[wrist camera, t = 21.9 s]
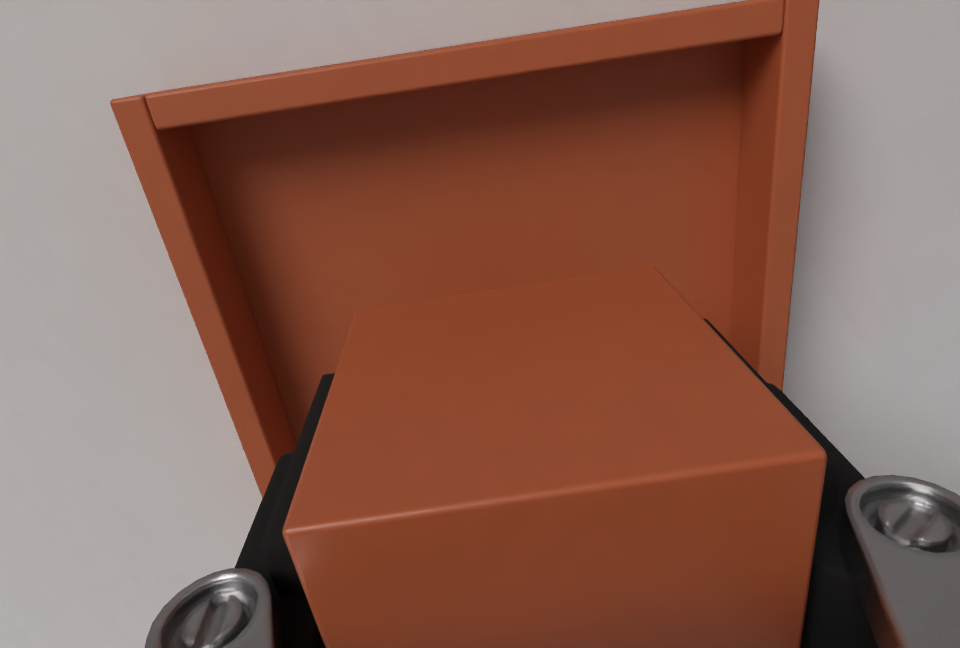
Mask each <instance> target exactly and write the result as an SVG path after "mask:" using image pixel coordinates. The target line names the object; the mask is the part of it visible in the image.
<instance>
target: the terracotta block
mask: <svg viewBox="0 0 960 648" xmlns="http://www.w3.org/2000/svg"><path fill="white" fill-rule="evenodd" d="M826 464H827V455H826V452H825V450H824V448H823V447H822V446H821V445H820V444H819V443H818V442H817V441H816V440H815V439H814V438H813V437H812V435H811V434H810V433H809V432H808V431H807V430H806V429H805V428H804V427H803V426H802V425H801V424H800V423H799V421H798V420H797V419H796V418H795V417H794V416H793V415H792V414H791V413H790V412H789V411H788V410H787V409H786V407H785V406H784V405H783V404H782V403H781V402H780V401H779V400H778V399H777V398H776V397H775V396H774V395H773V393H772V392H771V391H770V390H769V389H768V388H767V387H766V386H765V385H764V384H763V383H762V382H761V381H760V380H759V378H758V377H757V376H756V375H755V374H754V373H753V372H752V371H751V370H750V369H749V368H748V367H747V366H746V364H745V363H744V362H743V361H742V360H741V359H740V358H739V357H738V356H737V355H736V354H735V353H734V352H733V350H732V349H731V348H730V347H729V346H728V345H727V344H726V343H725V342H724V341H723V340H722V339H721V338H720V336H719V335H718V334H717V333H716V332H715V331H714V330H713V329H712V328H711V327H710V326H709V325H708V324H707V322H706V321H705V320H704V319H703V318H702V317H701V316H700V315H699V314H698V313H697V312H696V311H695V310H694V308H693V307H692V306H691V305H690V304H689V303H688V302H687V301H686V300H685V299H684V298H683V297H682V296H681V294H680V293H679V292H678V291H677V290H676V289H675V288H674V287H673V286H672V285H671V284H670V283H669V282H668V280H667V279H666V278H665V277H664V276H663V275H662V274H661V273H660V272H659V271H658V270H657V269H656V268H655V267H654V266H646V267H640V268H633V269H626V270H619V271H613V272H606V273H599V274H593V275H586V276H579V277H573V278H566V279H559V280H552V281H546V282H539V283H532V284H526V285H519V286H512V287H506V288H499V289H492V290H485V291H479V292H472V293H465V294H459V295H452V296H445V297H439V298H432V299H425V300H418V301H412V302H405V303H398V304H392V305H385V306H378V307H372V308H365V309H359V310H357V311H356V313H355V316H354V319H353V322H352V325H351V327H350V330H349V333H348V336H347V339H346V342H345V345H344V348H343V351H342V354H341V357H340V360H339V363H338V366H337V369H336V372H335V375H334V378H333V381H332V384H331V387H330V390H329V393H328V396H327V399H326V402H325V405H324V408H323V411H322V414H321V417H320V420H319V423H318V426H317V429H316V432H315V435H314V437H313V440H312V443H311V446H310V449H309V452H308V455H307V458H306V461H305V464H304V467H303V470H302V473H301V476H300V479H299V482H298V485H297V488H296V491H295V494H294V497H293V500H292V503H291V506H290V509H289V512H288V515H287V518H286V521H285V524H284V527H283V532H282V533H283V537H284V539H285V542H286V545H287V547H288V550H289V553H290V555H291V558H292V561H293V563H294V566H295V568H296V571H297V574H298V576H299V579H300V582H301V584H302V587H303V589H304V592H305V595H306V597H307V600H308V603H309V605H310V608H311V611H312V613H313V616H314V618H315V621H316V624H317V626H318V629H319V632H320V634H321V637H322V639H323V642H324V645H325V647H326V648H800V647H801V640H802V633H803V626H804V619H805V612H806V605H807V597H808V590H809V583H810V576H811V569H812V562H813V555H814V548H815V541H816V534H817V527H818V520H819V513H820V506H821V499H822V492H823V485H824V478H825V471H826Z"/></svg>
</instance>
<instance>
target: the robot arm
mask: <svg viewBox="0 0 960 648" xmlns="http://www.w3.org/2000/svg"><path fill="white" fill-rule="evenodd" d="M704 320H705V321H706V322H707V324H708V325H709V326H710V327H711V328H712V329H713V330H714V331H715V332H716V333H717V334H718V335H719V336H720V338H721V339H722V340H723V341H724V342H725V343H726V344H727V345H728V346H729V347H730V348H731V349H732V350H733V352H734V353H735V354H736V355H737V356H738V357H739V358H740V359H741V360H742V361H743V362H744V363H745V364H746V366H747V367H748V368H749V369H750V370H751V371H752V372H753V373H754V374H755V375H756V376H757V377H758V378H759V380H760V381H761V382H762V383H763V384H764V385H765V386H766V387H767V388H768V389H769V390H770V391H771V392H772V393H773V395H774V396H775V397H776V398H777V399H778V400H779V401H780V402H781V403H782V404H783V405H784V406H785V407H786V409H787V410H788V411H789V412H790V413H791V414H792V415H793V416H794V417H795V418H796V419H797V420H798V421H799V423H800V424H801V425H802V426H803V427H804V428H805V429H806V430H807V431H808V432H809V433H810V434H811V435H812V437H813V438H814V439H815V440H816V441H817V442H818V443H819V444H820V445H821V446H822V447H823V448H824V450H825V452H826V455H827V464H826V471H825V478H824V485H823V492H822V499H821V506H820V513H819V520H818V527H817V534H816V541H815V548H814V555H813V562H812V569H811V576H810V583H809V590H808V597H807V605H806V612H805V619H804V626H803V633H802V640H801V647H800V648H960V496H959V495H958V494H956V493H954V492H952V491H949V490H947V489H945V488H943V487H941V486H939V485H936V484H934V483H930V482H927V481H923V480H920V479H916V478H911V477H904V476H896V475H886V476H873V477H870V478H866V479H865V478H864V477H863V476H862V475H861V474H860V473H859V472H858V471H857V470H856V468H855V467H854V466H853V465H852V464H851V463H850V462H849V461H848V460H847V459H846V458H845V457H844V456H843V455H842V454H841V453H840V452H839V451H838V450H837V449H836V448H835V447H834V446H833V444H832V443H831V442H830V441H829V440H828V439H827V438H826V437H825V436H824V435H823V434H822V433H821V432H820V431H819V430H818V429H817V428H816V427H815V426H814V425H813V424H812V423H811V422H810V420H809V419H808V418H807V417H806V416H805V415H804V414H803V413H802V412H801V411H800V410H799V409H798V408H797V407H796V406H795V405H794V404H793V403H792V402H791V401H790V400H789V399H788V398H787V396H786V395H785V394H784V393H783V392H782V391H781V390H780V389H779V388H777V387H776V386H775V385H774V384H770V383H767V382H766V381H765V380H764V379H763V378H762V377H761V376H760V375H759V374H758V373H757V372H756V371H755V369H754V368H753V367H752V366H751V365H750V364H749V363H748V362H747V361H746V360H745V359H744V358H743V357H742V356H741V355H740V354H739V352H738V351H737V350H736V349H735V348H734V347H733V346H732V345H731V344H730V343H729V342H728V341H727V340H726V339H725V338H724V336H723V335H722V334H721V333H720V332H719V331H718V330H717V329H716V328H715V327H714V326H713V325H712V324H711V323H710V322H709V321H708V320H707V319H706V318H704ZM334 375H335V373H331V374H325V375H323V376H322V378H321V380H320V383H319V386H318V388H317V391H316V394H315V396H314V399H313V402H312V404H311V407H310V410H309V413H308V415H307V418H306V421H305V423H304V426H303V429H302V431H301V434H300V437H299V439H298V442H297V445H296V447H295V450H294V452H292V453H285V454H283V455H281V457H280V458H279V460H278V462H277V464H276V467H275V469H274V472H273V474H272V477H271V479H270V482H269V484H268V487H267V489H266V492H265V494H264V496H263V499H262V501H261V504H260V506H259V509H258V511H257V514H256V516H255V519H254V521H253V524H252V526H251V529H250V531H249V534H248V536H247V539H246V541H245V544H244V546H243V549H242V551H241V554H240V556H239V559H238V561H237V564H236V566H235V568H230V569H226V570H222V571H218V572H214V573H212V574H209V575H207V576H205V577H203V578H201V579H198V580H196V581H195V582H193V583H192V584H190V585H189V586H187V587H186V588H184V589H183V590H181V591H180V592H178V593H177V594H176V595H175V596H174V597H173V598H172V599H171V600H170V601H169V602H168V603H167V604H166V605H165V606H164V607H163V608H162V610H161V611H160V613H159V614H158V616H157V617H156V619H155V620H154V621H153V623H152V626H151V628H150V631H149V634H148V637H147V639H146V645H145V648H326V647H325V645H324V642H323V639H322V637H321V634H320V632H319V629H318V626H317V624H316V621H315V618H314V616H313V613H312V611H311V608H310V605H309V603H308V600H307V597H306V595H305V592H304V589H303V587H302V584H301V582H300V579H299V576H298V574H297V571H296V568H295V566H294V563H293V561H292V558H291V555H290V553H289V550H288V547H287V545H286V542H285V539H284V537H283V533H282V532H283V527H284V524H285V521H286V518H287V515H288V512H289V509H290V506H291V503H292V500H293V497H294V494H295V491H296V488H297V485H298V482H299V479H300V476H301V473H302V470H303V467H304V464H305V461H306V458H307V455H308V452H309V449H310V446H311V443H312V440H313V437H314V435H315V432H316V429H317V426H318V423H319V420H320V417H321V414H322V411H323V408H324V405H325V402H326V399H327V396H328V393H329V390H330V387H331V384H332V381H333V378H334Z"/></svg>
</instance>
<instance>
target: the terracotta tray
mask: <svg viewBox="0 0 960 648" xmlns="http://www.w3.org/2000/svg"><path fill="white" fill-rule="evenodd" d="M818 9H819V0H746V1H740V2H733V3H727V4H720V5H714V6H707V7H701V8H694V9H688V10H682V11H675V12H669V13H662V14H656V15H649V16H643V17H636V18H630V19H623V20H617V21H611V22H604V23H598V24H591V25H585V26H578V27H572V28H565V29H559V30H553V31H546V32H540V33H533V34H527V35H520V36H514V37H507V38H501V39H495V40H488V41H482V42H475V43H469V44H462V45H456V46H449V47H443V48H436V49H430V50H424V51H417V52H411V53H404V54H398V55H391V56H385V57H378V58H372V59H366V60H359V61H353V62H346V63H340V64H333V65H327V66H320V67H314V68H308V69H301V70H295V71H288V72H282V73H275V74H269V75H262V76H256V77H250V78H243V79H237V80H230V81H224V82H217V83H211V84H204V85H198V86H191V87H185V88H179V89H172V90H166V91H159V92H153V93H148V94H142V95H136V96H130V97H124V98H119V99H113V100H112V101H110V104H111V107H112V109H113V112H114V115H115V117H116V120H117V122H118V125H119V128H120V130H121V133H122V135H123V138H124V141H125V143H126V146H127V148H128V151H129V153H130V156H131V159H132V161H133V164H134V166H135V169H136V172H137V174H138V177H139V179H140V182H141V185H142V187H143V190H144V192H145V195H146V197H147V200H148V203H149V205H150V208H151V210H152V213H153V216H154V218H155V221H156V223H157V226H158V229H159V231H160V234H161V236H162V239H163V242H164V244H165V247H166V249H167V252H168V254H169V257H170V260H171V262H172V265H173V267H174V270H175V273H176V275H177V278H178V280H179V283H180V286H181V288H182V291H183V293H184V296H185V298H186V301H187V304H188V306H189V309H190V311H191V314H192V317H193V319H194V322H195V324H196V327H197V330H198V332H199V335H200V337H201V340H202V342H203V345H204V348H205V350H206V353H207V355H208V358H209V361H210V363H211V366H212V368H213V371H214V374H215V376H216V379H217V381H218V384H219V386H220V389H221V392H222V394H223V397H224V399H225V402H226V405H227V407H228V410H229V412H230V415H231V418H232V420H233V423H234V425H235V428H236V431H237V433H238V436H239V438H240V441H241V443H242V446H243V449H244V451H245V454H246V456H247V459H248V462H249V464H250V467H251V469H252V472H253V475H254V477H255V480H256V482H257V485H258V487H259V490H260V493H261V495H262V498H263V496H264V494H265V492H266V489H267V487H268V484H269V482H270V479H271V477H272V474H273V472H274V469H275V467H276V464H277V462H278V460H279V458H280V457H281V455H283V454H285V453H292V452H294V450H295V447H296V445H297V442H298V439H299V437H300V434H301V431H302V429H303V426H304V423H305V421H306V418H307V415H308V413H309V410H310V407H311V404H312V402H313V399H314V396H315V394H316V391H317V388H318V386H319V383H320V380H321V378H322V376H323V375H325V374H331V373H335V372H336V369H337V366H338V363H339V360H340V357H341V354H342V351H343V348H344V345H345V342H346V339H347V336H348V333H349V330H350V327H351V325H352V322H353V319H354V316H355V313H356V311H357V310H359V309H365V308H372V307H378V306H385V305H392V304H398V303H405V302H412V301H418V300H425V299H432V298H439V297H445V296H452V295H459V294H465V293H472V292H479V291H485V290H492V289H499V288H506V287H512V286H519V285H526V284H532V283H539V282H546V281H552V280H559V279H566V278H573V277H579V276H586V275H593V274H599V273H606V272H613V271H619V270H626V269H633V268H640V267H646V266H654V267H655V268H656V269H657V270H658V271H659V272H660V273H661V274H662V275H663V276H664V277H665V278H666V279H667V280H668V282H669V283H670V284H671V285H672V286H673V287H674V288H675V289H676V290H677V291H678V292H679V293H680V294H681V296H682V297H683V298H684V299H685V300H686V301H687V302H688V303H689V304H690V305H691V306H692V307H693V308H694V310H695V311H696V312H697V313H698V314H699V315H700V316H701V317H702V318H703V319H704V318H706V319H707V320H708V321H709V322H710V323H711V324H712V325H713V326H714V327H715V328H716V329H717V330H718V331H719V332H720V333H721V334H722V335H723V336H724V338H725V339H726V340H727V341H728V342H729V343H730V344H731V345H732V346H733V347H734V348H735V349H736V350H737V351H738V352H739V354H740V355H741V356H742V357H743V358H744V359H745V360H746V361H747V362H748V363H749V364H750V365H751V366H752V367H753V368H754V369H755V371H756V372H757V373H758V374H759V375H760V376H761V377H762V378H763V379H764V380H765V381H766V382H767V383H770V384H774V385H775V386H776V387H777V388H779V389H780V390H781V391H782V387H783V377H784V366H785V356H786V345H787V335H788V324H789V314H790V303H791V293H792V282H793V272H794V261H795V251H796V240H797V230H798V219H799V209H800V198H801V188H802V177H803V167H804V156H805V146H806V135H807V125H808V114H809V104H810V93H811V83H812V72H813V62H814V51H815V41H816V30H817V20H818Z"/></svg>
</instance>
